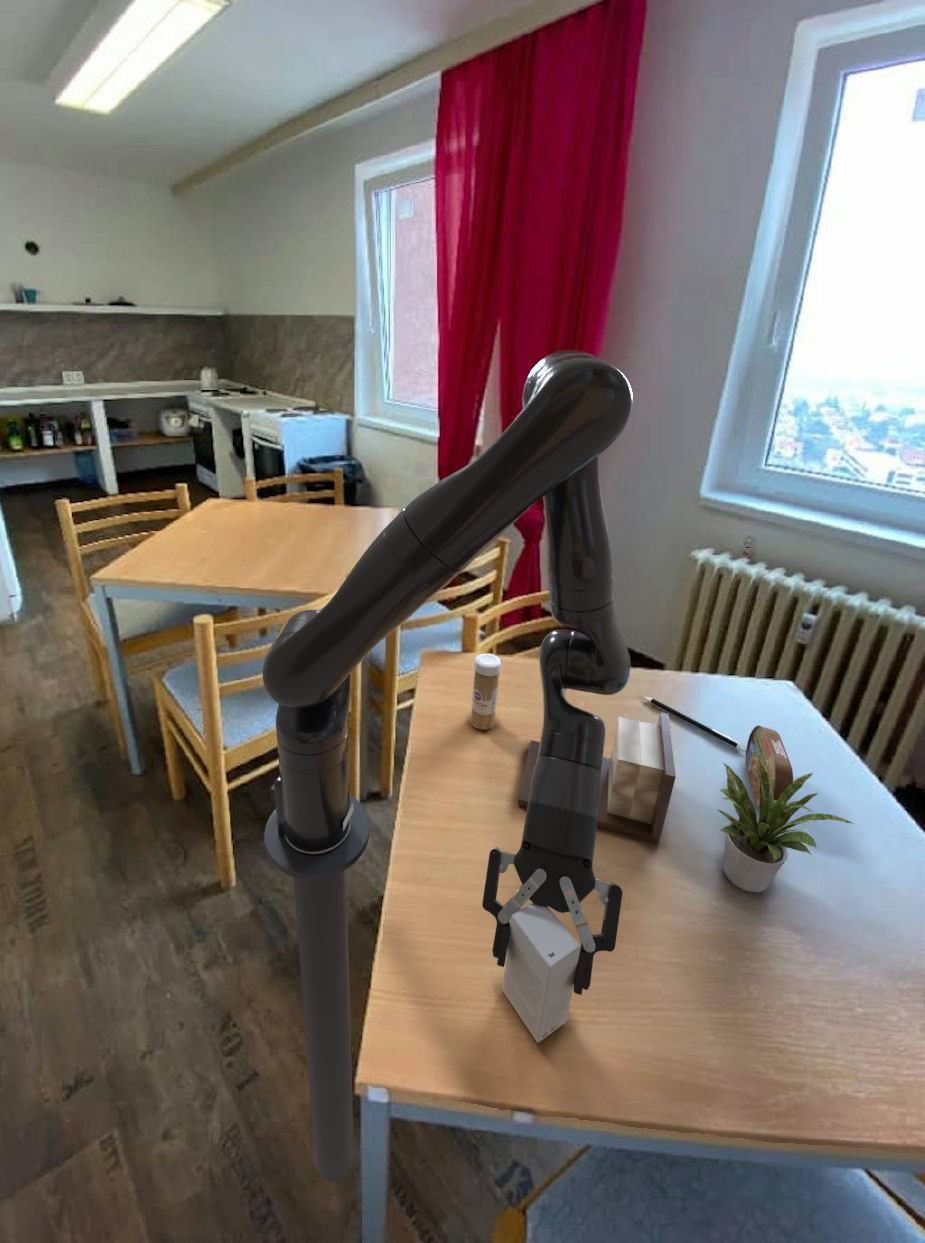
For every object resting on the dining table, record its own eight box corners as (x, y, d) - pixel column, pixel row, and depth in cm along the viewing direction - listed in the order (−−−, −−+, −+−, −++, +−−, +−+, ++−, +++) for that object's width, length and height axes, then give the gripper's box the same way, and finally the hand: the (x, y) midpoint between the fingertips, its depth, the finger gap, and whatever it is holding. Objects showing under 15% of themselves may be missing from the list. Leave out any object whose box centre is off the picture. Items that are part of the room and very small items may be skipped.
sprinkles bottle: (465, 724, 105) (470, 661, 100) (477, 711, 109) (482, 649, 104) (488, 734, 103) (494, 670, 98) (499, 720, 106) (505, 658, 101)
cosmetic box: (568, 1022, 61) (583, 947, 57) (537, 1045, 59) (550, 969, 55) (529, 969, 66) (541, 896, 62) (500, 989, 64) (509, 914, 60)
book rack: (517, 805, 88) (525, 741, 84) (530, 745, 100) (537, 686, 96) (658, 843, 82) (675, 777, 78) (654, 775, 94) (668, 713, 90)
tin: (741, 754, 99) (754, 713, 96) (762, 758, 98) (775, 718, 95) (759, 821, 86) (774, 777, 83) (783, 827, 85) (799, 783, 82)
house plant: (816, 861, 80) (853, 769, 74) (822, 949, 69) (867, 848, 63) (702, 817, 87) (727, 729, 80) (691, 891, 76) (719, 795, 69)
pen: (745, 753, 99) (746, 748, 99) (641, 699, 113) (642, 694, 112) (747, 751, 100) (748, 746, 99) (644, 697, 113) (645, 692, 113)
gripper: (496, 787, 63) (464, 962, 58) (636, 824, 59) (617, 1017, 53) (501, 789, 70) (473, 946, 64) (627, 823, 66) (609, 994, 60)
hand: (538, 977), depth 59 cm, fingers closed on cosmetic box, 7 cm apart
